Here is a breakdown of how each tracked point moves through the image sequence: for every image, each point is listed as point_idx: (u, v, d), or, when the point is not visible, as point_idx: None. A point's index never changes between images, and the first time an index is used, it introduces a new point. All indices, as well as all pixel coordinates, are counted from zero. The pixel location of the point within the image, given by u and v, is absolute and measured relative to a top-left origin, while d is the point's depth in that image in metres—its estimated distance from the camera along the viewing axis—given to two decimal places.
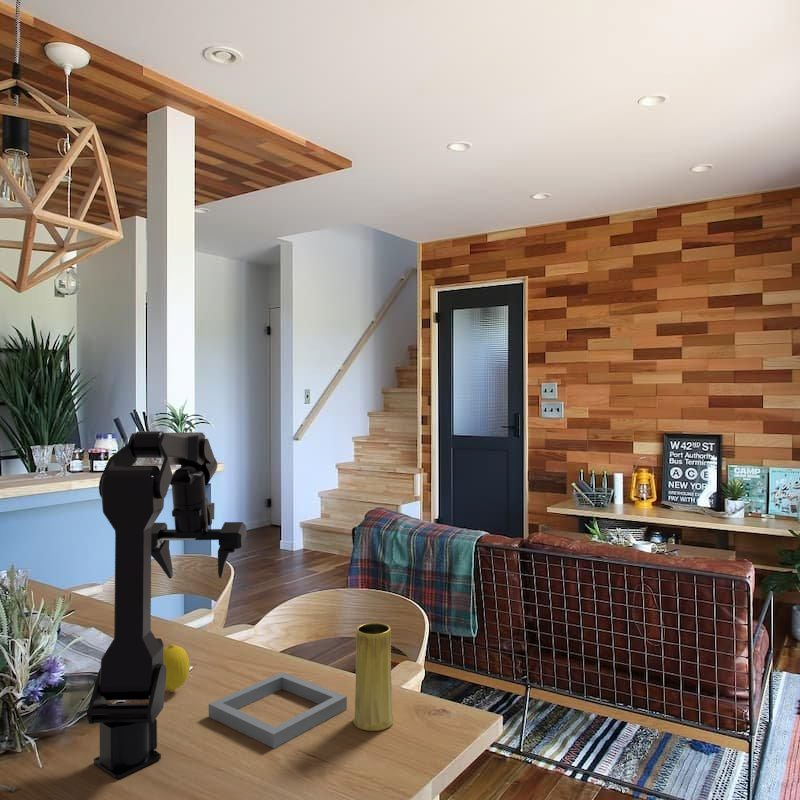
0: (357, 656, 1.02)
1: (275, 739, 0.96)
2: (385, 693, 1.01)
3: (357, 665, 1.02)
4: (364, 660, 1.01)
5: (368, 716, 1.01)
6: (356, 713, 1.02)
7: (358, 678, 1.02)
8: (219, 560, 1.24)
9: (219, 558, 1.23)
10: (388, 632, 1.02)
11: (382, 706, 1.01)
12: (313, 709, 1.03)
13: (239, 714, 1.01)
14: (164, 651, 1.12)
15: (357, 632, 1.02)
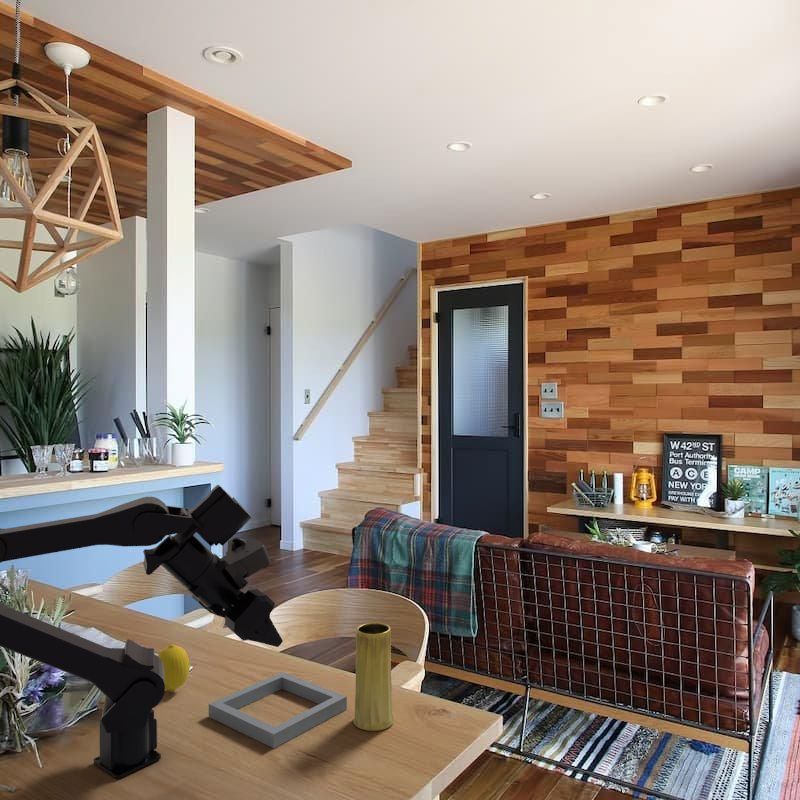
0: (357, 656, 1.02)
1: (275, 739, 0.96)
2: (385, 693, 1.01)
3: (357, 665, 1.02)
4: (364, 660, 1.01)
5: (368, 716, 1.01)
6: (356, 713, 1.02)
7: (358, 678, 1.02)
8: None
9: None
10: (388, 632, 1.02)
11: (382, 706, 1.01)
12: (313, 709, 1.03)
13: (239, 714, 1.01)
14: (164, 651, 1.12)
15: (357, 632, 1.02)
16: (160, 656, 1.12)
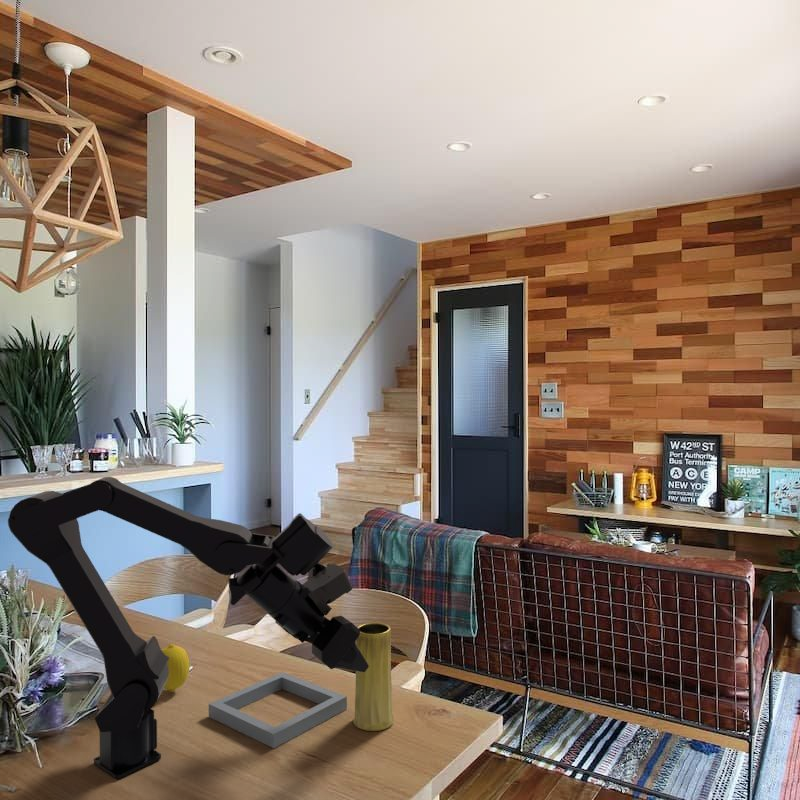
0: None
1: (275, 739, 0.96)
2: (385, 693, 1.01)
3: None
4: None
5: (368, 716, 1.01)
6: (356, 713, 1.02)
7: (358, 678, 1.02)
8: None
9: None
10: (388, 632, 1.02)
11: (382, 706, 1.01)
12: (313, 709, 1.03)
13: (239, 714, 1.01)
14: (164, 651, 1.12)
15: None
16: None
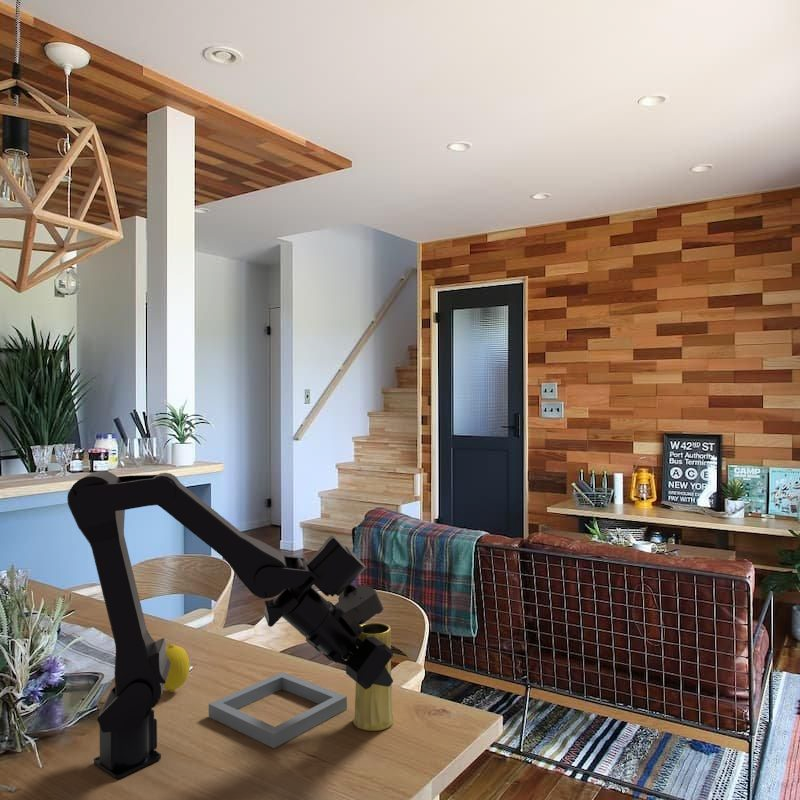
0: None
1: (275, 739, 0.96)
2: (385, 693, 1.01)
3: None
4: None
5: (368, 715, 1.01)
6: (356, 713, 1.02)
7: None
8: None
9: None
10: (388, 632, 1.02)
11: (382, 706, 1.01)
12: (313, 709, 1.03)
13: (239, 714, 1.01)
14: None
15: None
16: None
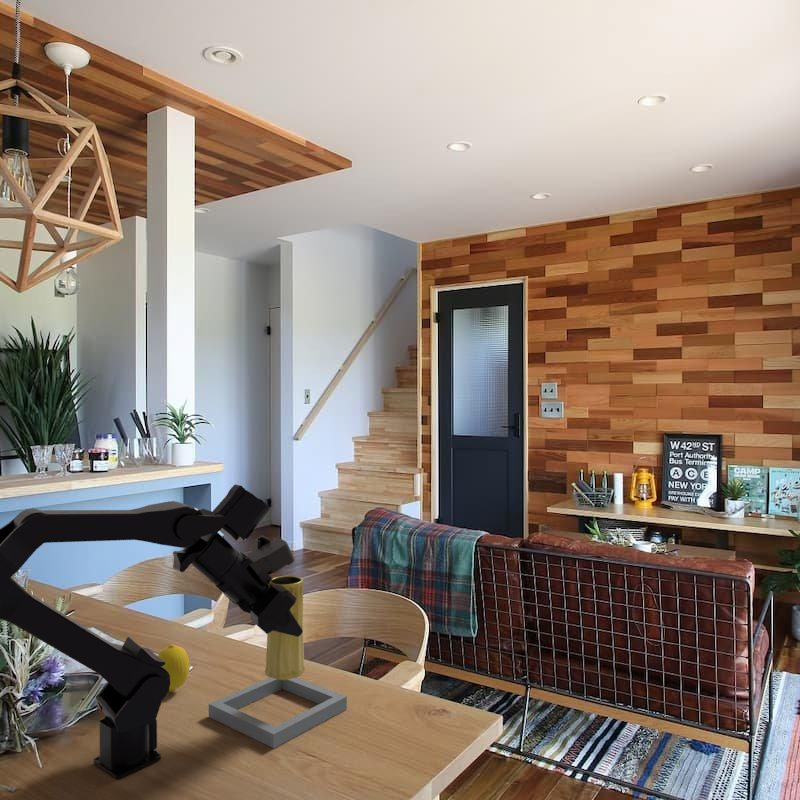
0: None
1: (275, 739, 0.96)
2: (295, 643, 1.04)
3: None
4: None
5: (277, 664, 1.03)
6: (267, 662, 1.04)
7: None
8: None
9: None
10: (299, 583, 1.04)
11: (291, 655, 1.03)
12: (313, 709, 1.03)
13: (239, 714, 1.01)
14: (164, 651, 1.12)
15: (269, 583, 1.04)
16: (160, 656, 1.12)
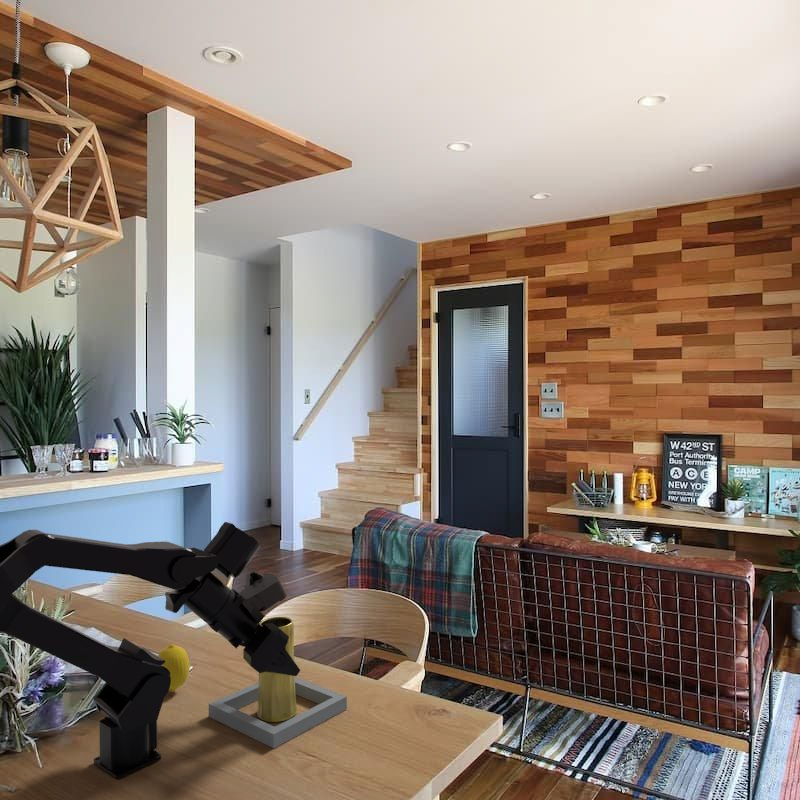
0: None
1: (275, 739, 0.96)
2: (287, 685, 1.04)
3: None
4: None
5: (269, 707, 1.03)
6: (259, 705, 1.05)
7: None
8: None
9: None
10: (289, 626, 1.05)
11: (283, 698, 1.04)
12: (313, 709, 1.03)
13: (239, 714, 1.01)
14: (164, 651, 1.12)
15: None
16: (160, 656, 1.12)
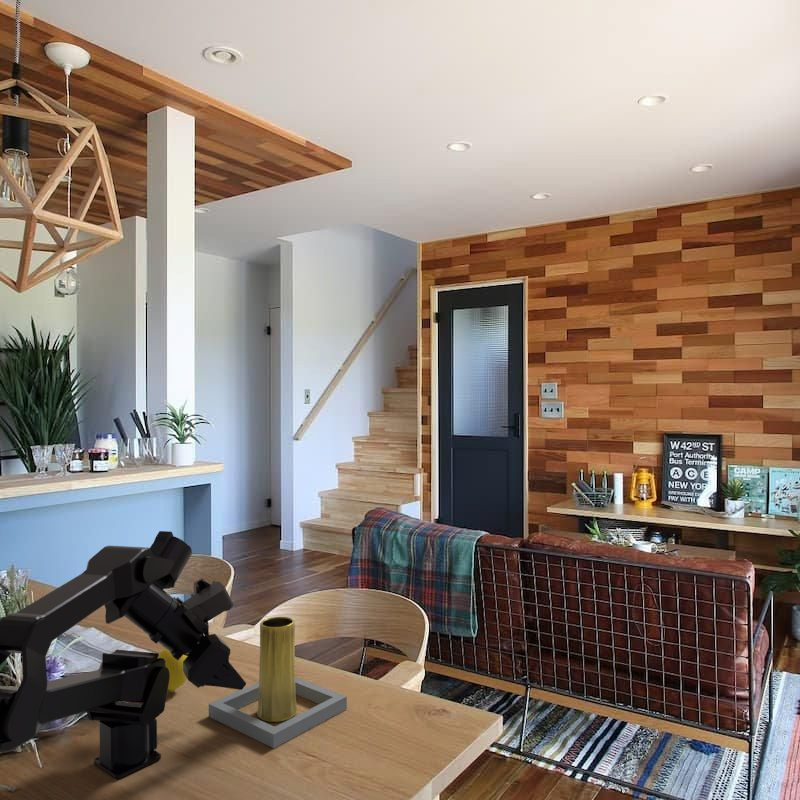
0: (260, 649, 1.05)
1: (275, 739, 0.96)
2: (287, 685, 1.04)
3: (260, 657, 1.05)
4: (265, 652, 1.04)
5: (269, 707, 1.03)
6: (259, 704, 1.05)
7: (261, 670, 1.05)
8: None
9: None
10: (290, 626, 1.05)
11: (283, 698, 1.04)
12: (313, 709, 1.03)
13: (239, 714, 1.01)
14: (164, 651, 1.13)
15: (260, 625, 1.05)
16: (160, 656, 1.12)
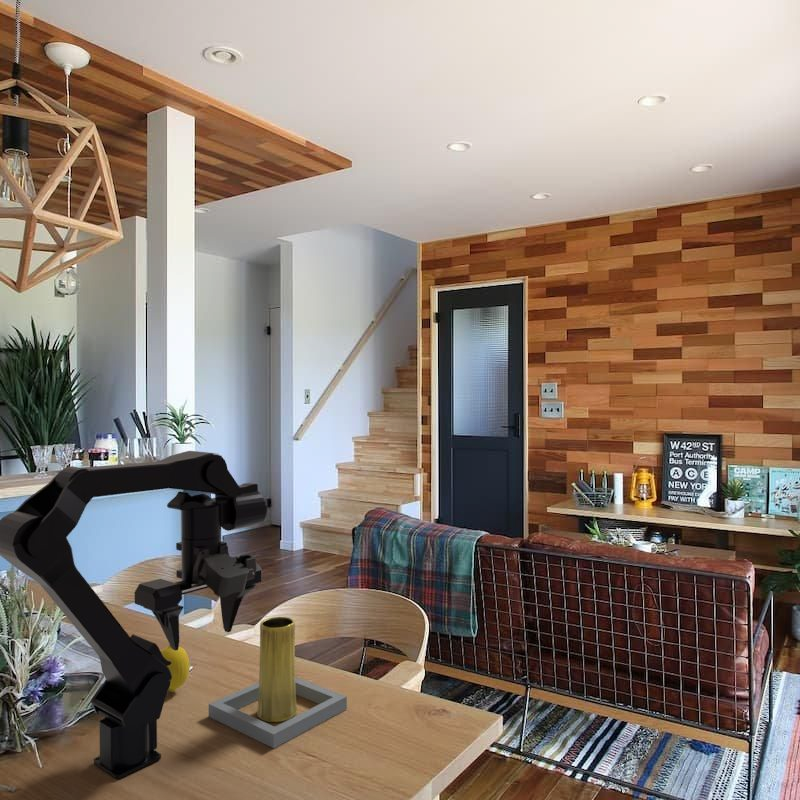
0: (260, 649, 1.05)
1: (275, 739, 0.96)
2: (287, 686, 1.04)
3: (260, 658, 1.05)
4: (265, 652, 1.04)
5: (269, 707, 1.03)
6: (259, 704, 1.05)
7: (261, 670, 1.04)
8: None
9: None
10: (290, 626, 1.05)
11: (283, 698, 1.04)
12: (313, 709, 1.03)
13: (239, 714, 1.01)
14: (164, 651, 1.12)
15: (260, 626, 1.05)
16: None
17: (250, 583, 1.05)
